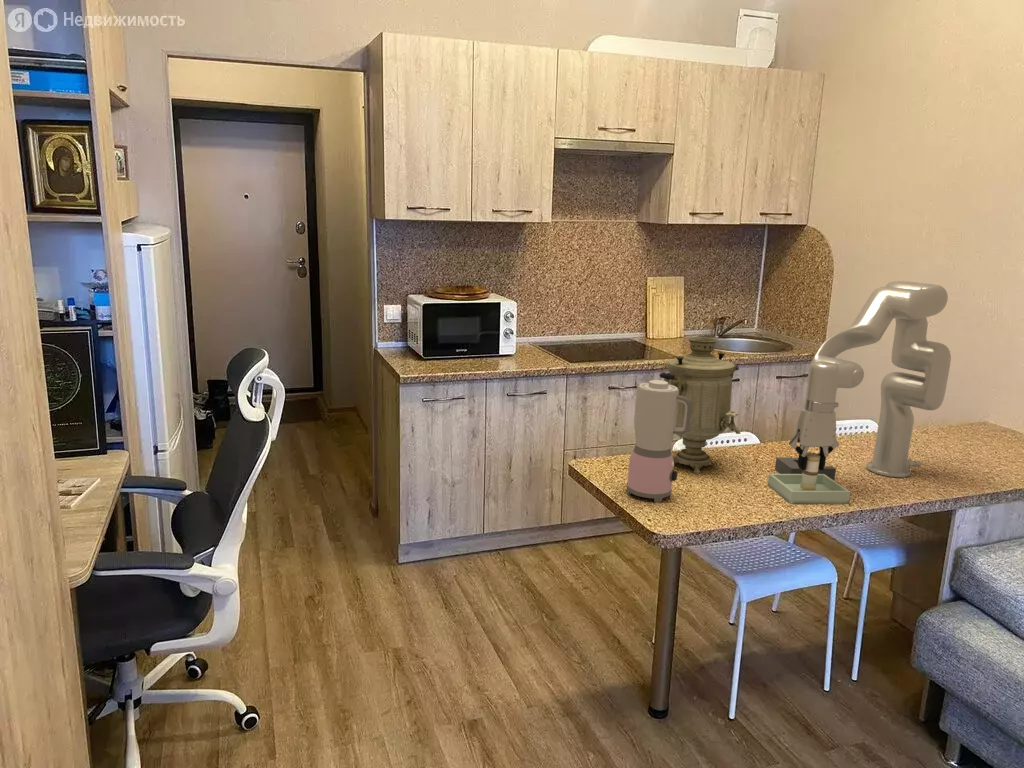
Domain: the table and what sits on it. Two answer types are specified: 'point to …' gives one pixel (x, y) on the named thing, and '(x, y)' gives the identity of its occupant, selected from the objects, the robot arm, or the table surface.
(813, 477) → the fuse
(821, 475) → the parts tray
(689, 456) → the samovar
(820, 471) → the fuse block
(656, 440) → the blender
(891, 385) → the robot arm
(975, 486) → the table surface
